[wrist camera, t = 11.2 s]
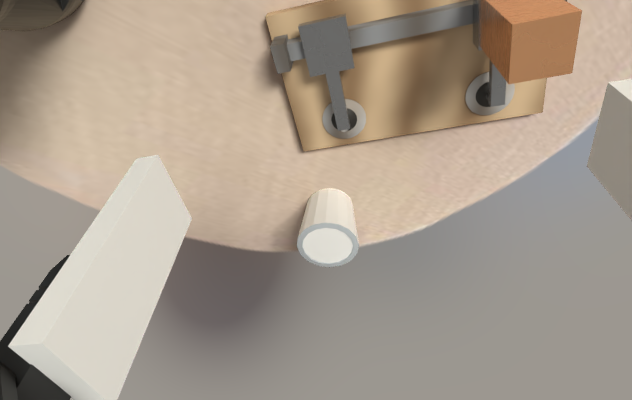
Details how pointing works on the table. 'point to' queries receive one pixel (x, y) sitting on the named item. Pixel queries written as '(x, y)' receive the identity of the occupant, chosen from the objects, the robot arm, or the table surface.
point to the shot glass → (328, 229)
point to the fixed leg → (329, 58)
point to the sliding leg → (525, 40)
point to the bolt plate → (394, 71)
